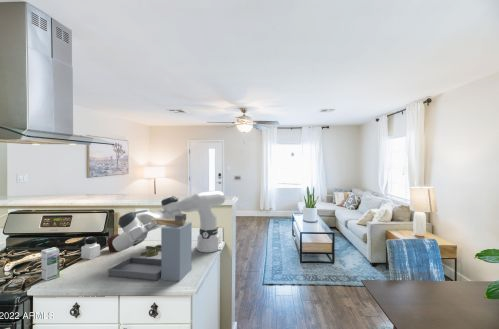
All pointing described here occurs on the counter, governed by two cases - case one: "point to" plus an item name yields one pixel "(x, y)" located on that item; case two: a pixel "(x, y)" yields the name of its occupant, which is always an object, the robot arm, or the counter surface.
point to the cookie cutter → (151, 253)
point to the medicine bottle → (90, 248)
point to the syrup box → (50, 263)
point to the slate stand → (176, 251)
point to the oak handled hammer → (172, 220)
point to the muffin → (111, 243)
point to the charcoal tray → (137, 269)
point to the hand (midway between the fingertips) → (159, 221)
